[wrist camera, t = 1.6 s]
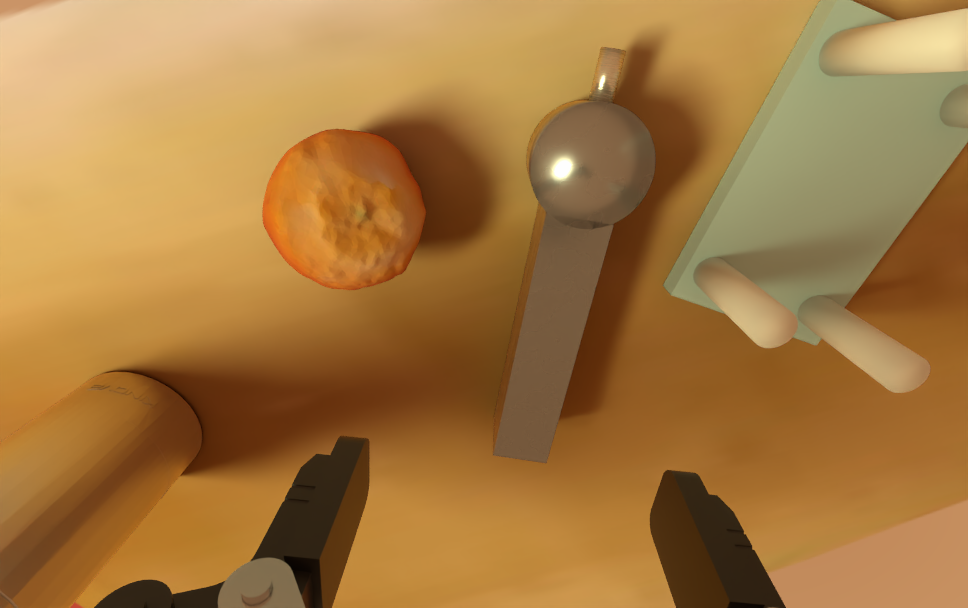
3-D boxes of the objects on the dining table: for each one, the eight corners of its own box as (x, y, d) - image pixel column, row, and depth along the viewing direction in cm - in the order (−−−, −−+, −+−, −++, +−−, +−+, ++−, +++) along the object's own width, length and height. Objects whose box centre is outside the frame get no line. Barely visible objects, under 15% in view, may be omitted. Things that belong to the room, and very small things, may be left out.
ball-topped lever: (558, 426, 34) (565, 466, 31) (476, 413, 34) (473, 452, 30) (661, 63, 24) (689, 58, 21) (547, 42, 24) (556, 33, 21)
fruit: (230, 162, 26) (232, 156, 19) (363, 121, 29) (407, 102, 22) (294, 293, 29) (316, 328, 22) (409, 244, 32) (460, 262, 25)
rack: (802, 334, 31) (904, 416, 23) (663, 285, 29) (720, 354, 22) (988, 75, 24) (1218, 68, 16) (819, 0, 23) (980, -45, 15)
